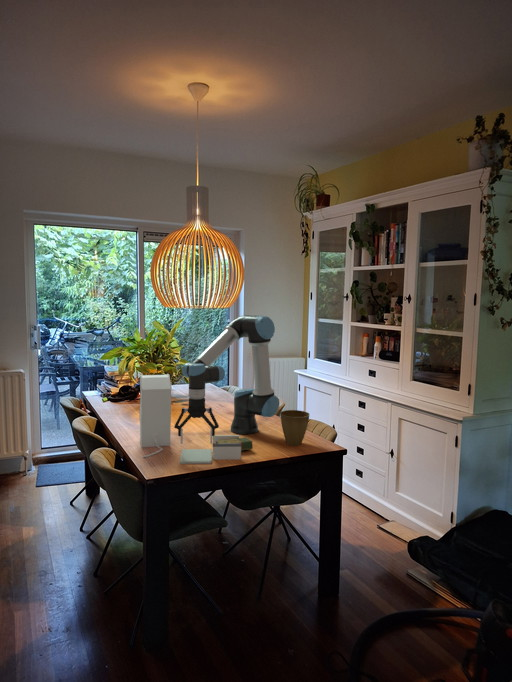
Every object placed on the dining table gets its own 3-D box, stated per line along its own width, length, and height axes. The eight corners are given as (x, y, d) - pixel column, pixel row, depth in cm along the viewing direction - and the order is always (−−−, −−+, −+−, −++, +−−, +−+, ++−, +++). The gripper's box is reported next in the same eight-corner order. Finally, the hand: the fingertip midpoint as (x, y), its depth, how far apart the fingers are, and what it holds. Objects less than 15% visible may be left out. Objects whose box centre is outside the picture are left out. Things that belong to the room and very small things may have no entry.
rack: (212, 447, 247) (212, 432, 246) (238, 446, 248) (239, 432, 247) (212, 459, 228) (212, 444, 227) (240, 459, 229) (241, 444, 228)
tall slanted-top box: (166, 436, 264) (166, 370, 261) (174, 456, 231) (174, 382, 228) (138, 437, 260) (138, 371, 257) (142, 459, 227) (142, 382, 224)
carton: (215, 449, 241) (215, 440, 241) (245, 444, 248) (245, 436, 248) (222, 454, 234) (222, 445, 234) (252, 449, 241) (252, 440, 241)
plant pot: (273, 443, 255) (274, 412, 254) (292, 438, 265) (293, 408, 264) (295, 450, 244) (296, 418, 243) (314, 444, 255) (315, 413, 254)
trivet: (182, 451, 239) (182, 449, 239) (211, 451, 240) (211, 449, 240) (179, 463, 221) (179, 461, 221) (211, 463, 223) (211, 461, 222)
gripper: (168, 399, 224) (168, 445, 225) (224, 399, 226) (223, 445, 228) (170, 395, 231) (169, 440, 233) (223, 396, 233) (223, 440, 235)
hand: (196, 443), depth 230 cm, fingers open, 13 cm apart
